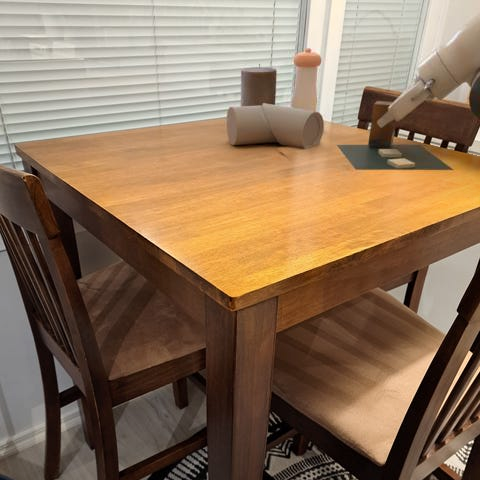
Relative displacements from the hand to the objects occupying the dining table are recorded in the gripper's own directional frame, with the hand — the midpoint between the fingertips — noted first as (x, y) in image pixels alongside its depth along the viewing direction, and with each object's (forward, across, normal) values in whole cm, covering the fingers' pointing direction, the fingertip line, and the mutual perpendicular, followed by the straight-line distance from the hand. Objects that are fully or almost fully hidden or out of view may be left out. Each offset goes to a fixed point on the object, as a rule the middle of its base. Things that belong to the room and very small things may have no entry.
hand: (381, 122), depth 113 cm
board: (+1, -8, -8) cm, 11 cm away
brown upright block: (+3, 0, -4) cm, 5 cm away
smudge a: (+1, -7, -6) cm, 10 cm away
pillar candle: (+30, +15, +21) cm, 40 cm away
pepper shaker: (+21, +15, +12) cm, 28 cm away
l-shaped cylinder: (+21, -6, +12) cm, 25 cm away
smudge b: (-2, -14, -9) cm, 17 cm away
